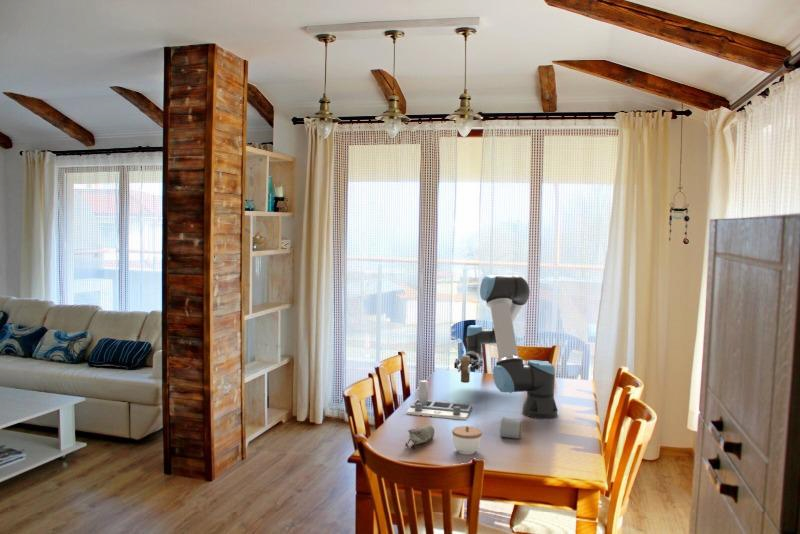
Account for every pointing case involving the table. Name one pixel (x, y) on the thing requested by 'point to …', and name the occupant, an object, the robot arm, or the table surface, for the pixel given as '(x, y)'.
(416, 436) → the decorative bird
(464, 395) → the table surface
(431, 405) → the pin board
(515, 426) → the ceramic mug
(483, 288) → the robot arm
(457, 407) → the plaque
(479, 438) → the lidded jar
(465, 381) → the walnut pin
